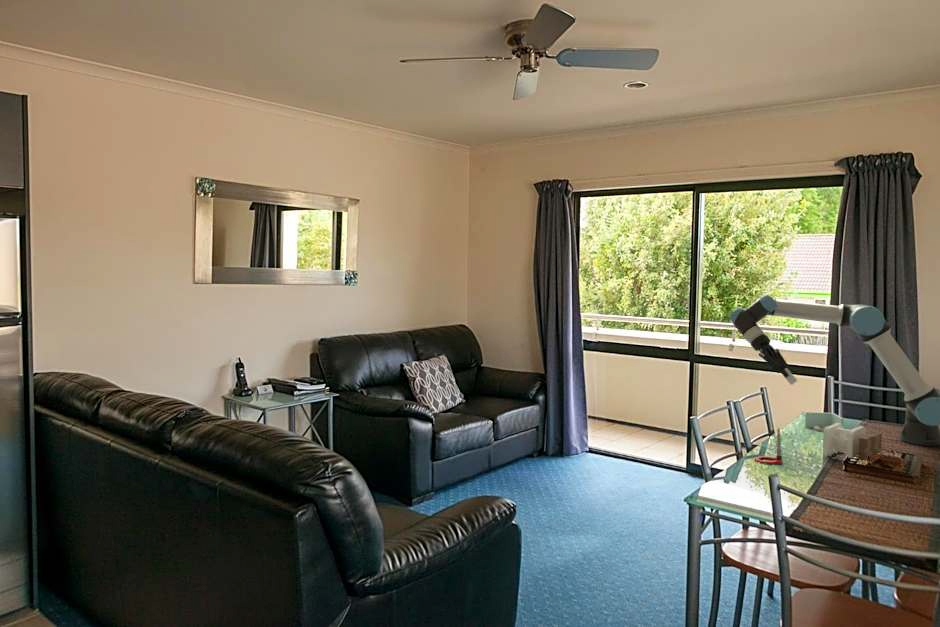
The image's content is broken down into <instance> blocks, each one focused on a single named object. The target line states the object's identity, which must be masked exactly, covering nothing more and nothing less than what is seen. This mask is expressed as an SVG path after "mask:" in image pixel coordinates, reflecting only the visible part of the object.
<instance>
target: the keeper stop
mask: <svg viewBox="0 0 940 627" xmlns="http://www.w3.org/2000/svg"><path fill="white" fill-rule="evenodd" d="M882 438H883V434H882V433H880V432H874V433H871V434H868V435H865V436H864V437H861V438H859V456H858V459H860V460H866V459H867V457H868V456H870V455H872V454H876V453H881V454H882V442H883V441H882Z"/></svg>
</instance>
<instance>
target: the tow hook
mask: <svg viewBox="0 0 940 627" xmlns="http://www.w3.org/2000/svg"><path fill="white" fill-rule="evenodd" d="M780 430H781V428H779V427H777V434H776V447H777V448H776V457H775V456H769V455H768V456H767V455H760V456H756V457H754V461H755V462H756V461H757V462H756V463H758V462H760V463H759V464H763V463H767V464H766V465H776V464H778V465H780V464H781V465H783V456H782V446H781V445H782V443H781V442H782V441H781V433H780V432H781V431H780ZM762 458H768V459H767V460H764V459H762ZM770 459H771V460H770Z"/></svg>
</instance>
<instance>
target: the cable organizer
mask: <svg viewBox="0 0 940 627" xmlns="http://www.w3.org/2000/svg"><path fill="white" fill-rule="evenodd" d="M822 433H823V434H824V435H823V455H825V456H827V457H832V455H834V454H836V455H838V453H845V456H846V454H847V455H848V458H853V457H855V456H856V455H858V454H859V438H861V437H864V436H866V426H862V425H861V426H860V425H859V426H857V427H855V428H853V429H847V428H844V424H843V425H842V424H841V423H835V424H833V425H831V426H828V427H826V428H825V430H824V431H823V432H822Z"/></svg>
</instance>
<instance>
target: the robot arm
mask: <svg viewBox="0 0 940 627" xmlns="http://www.w3.org/2000/svg"><path fill="white" fill-rule="evenodd" d="M767 316H773V317H782V318H790V319H796V320H797V319H799V320H805V321H806V320H807V321H814V322H820V323H821V322H823V323H831V324H837V325H838V326H839V327H844V328H849V329H851V330H853V331H854V332H855V334H856V335H857V337H858V338H859V339H860V340H861V342H862V343H863V344H866V345H869V346H870V347H871V349H872V351H873V352H874V353H875V355H876V356H877V358H878V359H879V360H880V362H881V363H882V364H883V366H884V367H885V368H886V370H887V371H888V373H889V374H890V376H892V378H893V380H894V381H895V382H896V384H897V386H899V388H900V389H901V391H902V392H903V393H904V397H903V401H904V402H905V406H906V407H905V422H904V423H903V426H902V427H901V428H902V429H901V430H900V433H899V440H900V441H901V442H904V443H908V444H913V445H916V446H926V447H940V389H939V388H935V386H934V385H932V384H927V382H926V381H925V380H924V378H923V376H921V374H920V372H919V371H918V370H917V369H916V367H915V366H914V365H913V363H912V361H911V360H910V359H909V358H908V356H907V355H906V354H905V352H904V350H902V348H901V347H900V346H899V344H898V342H897V341H896V340H895V339H894V337H893V336H892V334H891V331H892V330H891V329H892V327H891V326H890V325H889V323H888V322H887V320H886V319H885V317H884V314H883V313H882V311H881V310H880V309H878V308H877V307H875V306H873V305H869V304H846V303H842V304H840V305H833V304H824V303H815V302H814V303H813V302H807V301H805V302H804V301H798V300H797V301H796V300H787V299H778V298H773V297H772V296H771V294H769V293H765V294H764V295H762V296H760V297H758V298H756V299H755V300H754V301H753V303H752V304H751V305H749V306H748V307H747V308H743V307H737V308H736V309H734V310H732V312H731V313H730V314H729V320H730V322H731V323H732V325H733V327H735V328H736V329H737V331H738V332H739V333H740V334H741V335H742V336H743V337H744V339H745V341H747V343H749V344H750V346H751V347H752V349H753V350H754V351H756V352H757V351H758V352H759V353H758V356H759V357H760V358H762V359H763V360H764V362H766V363H767V364H768V365H769V366H770V367H771V368H772V369H773V370H774V371H775V372H776V373H777V374H779V373H780V374H781V375H782V376H783V377H784V379H786V380H787V382H788V383H789V384H790V385H794V384H795V383H797V382H798V379H797V378H796V377H795V376H794V374H793V373H792V372H791V371H790V370H789V369H788V368H789V366H790V365H789V364H788V363H787V360H785V358H784V357H783V355H782V354H781V352H780V349H779V348H776V349H775V348H774V347H773V346H772V345H771V339H770V338H769V336H767V334H765V332H764V331H763V330H762V328H761V327H760V326H759V325H758V324H757V323H758V322H760V321H761V320H763V319H764V318H766V317H767Z"/></svg>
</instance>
